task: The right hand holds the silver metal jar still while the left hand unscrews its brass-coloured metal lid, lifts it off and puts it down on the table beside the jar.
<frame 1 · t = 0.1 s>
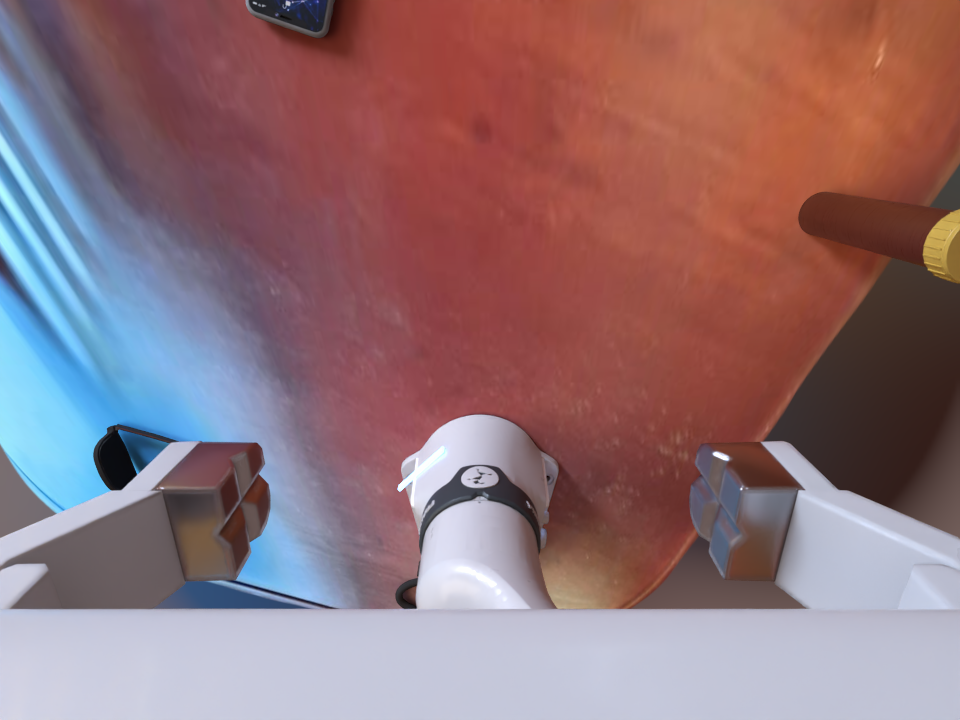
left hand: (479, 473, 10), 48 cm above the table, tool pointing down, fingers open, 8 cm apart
jar: (819, 213, 55), on the table
sunglasses: (193, 468, 66), on the table
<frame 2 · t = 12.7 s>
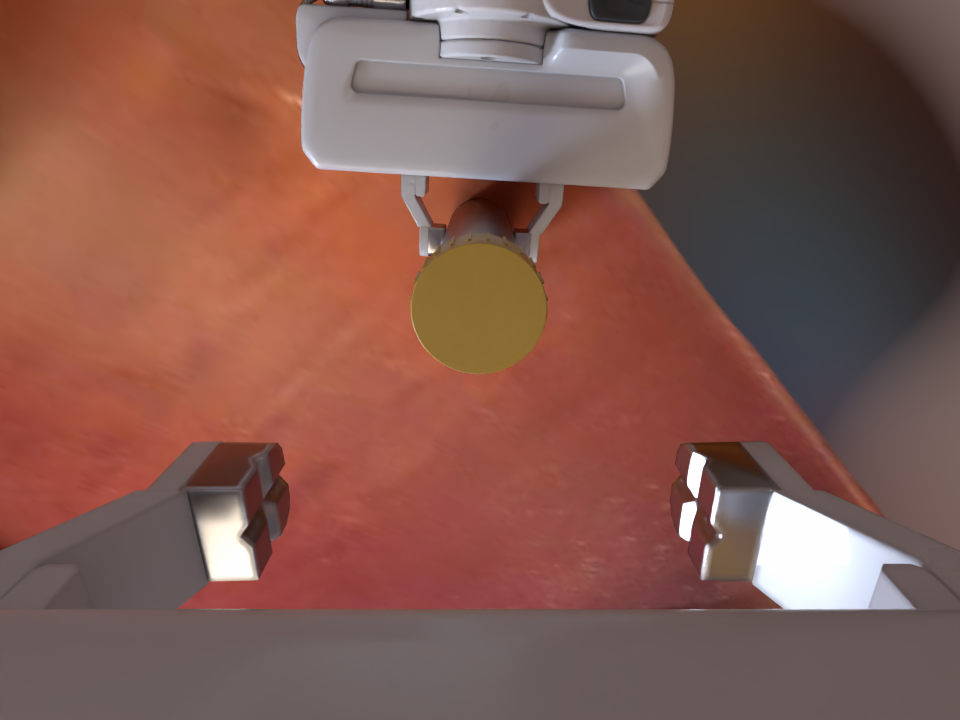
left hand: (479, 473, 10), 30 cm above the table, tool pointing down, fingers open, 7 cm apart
right hand: (478, 257, 34), fingers closed on jar, 4 cm apart
lid: (479, 308, 20), point 19 cm above the table, screwed on, not yet turned
jar: (479, 230, 38), on the table, touching right hand
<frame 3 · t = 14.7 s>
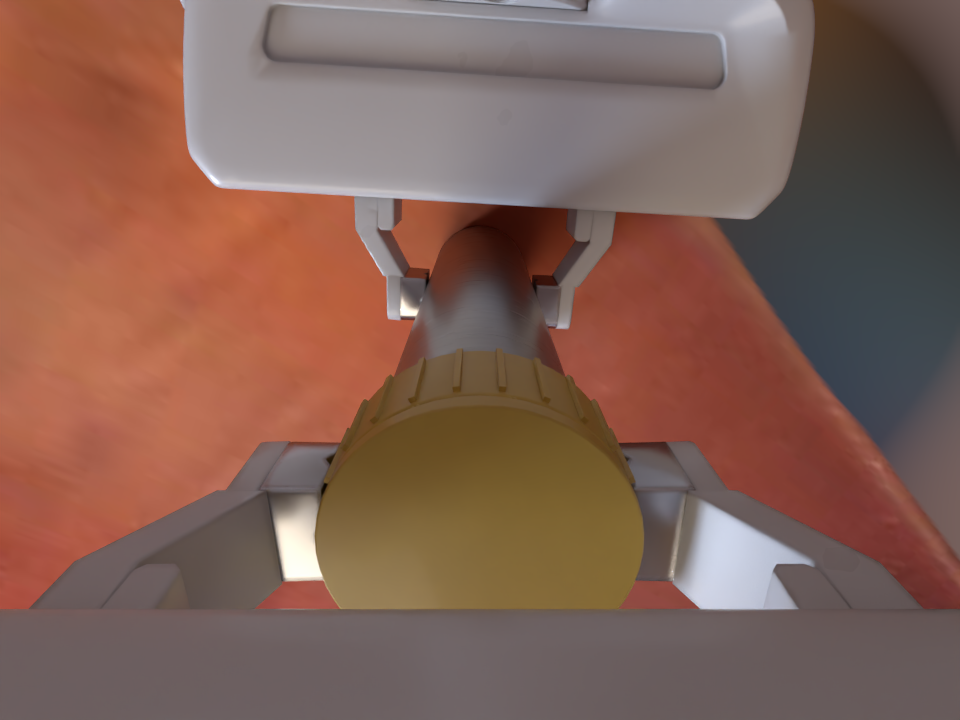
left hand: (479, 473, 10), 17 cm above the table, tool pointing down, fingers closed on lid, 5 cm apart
right hand: (479, 320, 22), fingers closed on jar, 4 cm apart
lid: (479, 537, 9), point 19 cm above the table, screwed on, not yet turned, touching left hand
jar: (479, 270, 26), on the table, touching right hand
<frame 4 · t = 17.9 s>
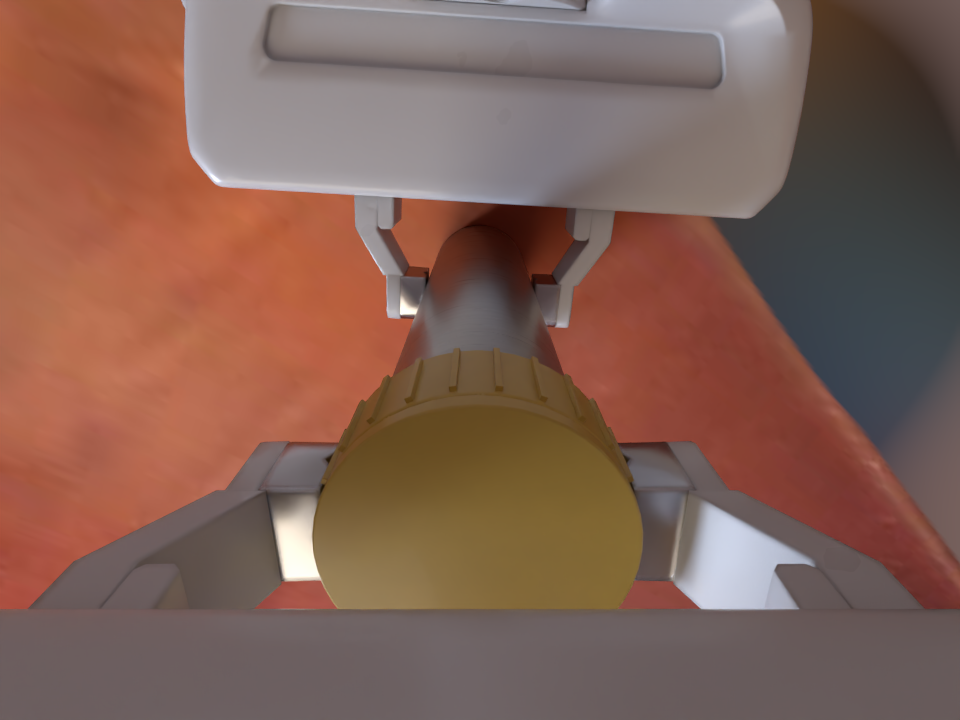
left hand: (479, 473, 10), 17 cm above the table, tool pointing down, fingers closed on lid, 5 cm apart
right hand: (479, 319, 22), fingers closed on jar, 4 cm apart
lid: (477, 538, 9), point 19 cm above the table, turned 76° so far, risen 0.1 cm, still on its thread, touching left hand
jar: (479, 269, 26), on the table, touching right hand
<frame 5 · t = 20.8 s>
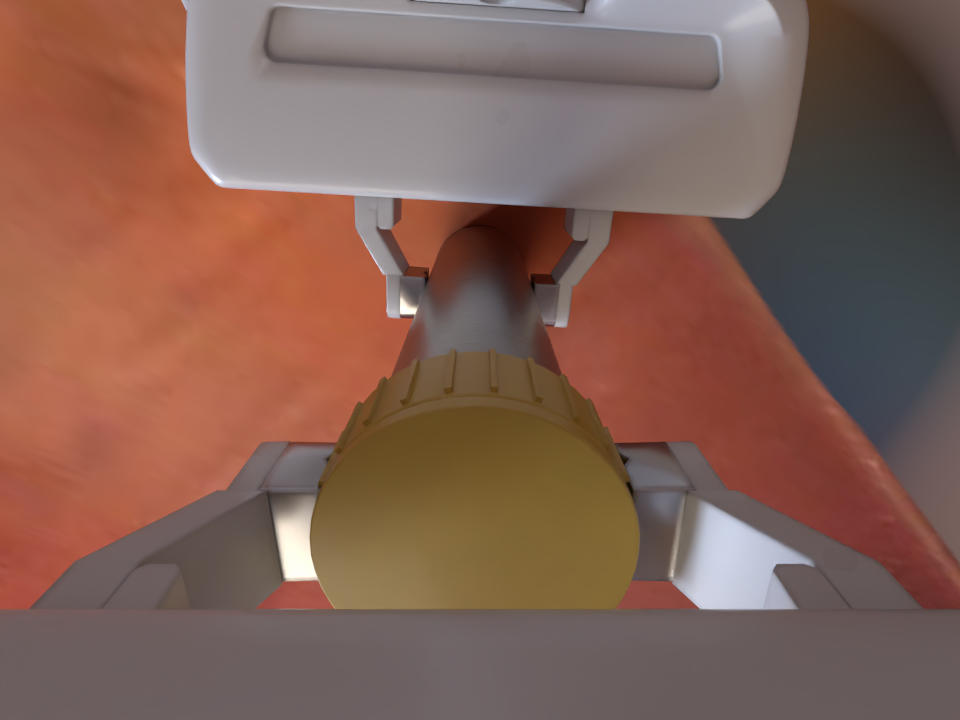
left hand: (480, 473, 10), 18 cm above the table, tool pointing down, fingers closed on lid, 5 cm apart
right hand: (478, 318, 22), fingers closed on jar, 4 cm apart
lid: (474, 538, 9), point 19 cm above the table, turned 151° so far, risen 0.2 cm, still on its thread, touching left hand
jar: (479, 269, 27), on the table, touching right hand
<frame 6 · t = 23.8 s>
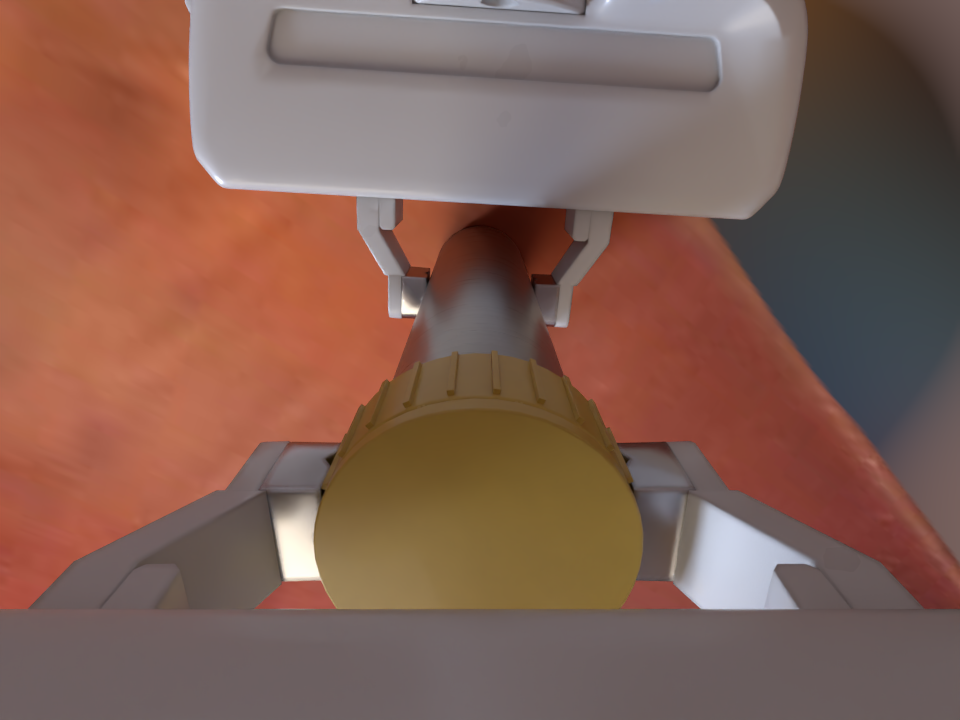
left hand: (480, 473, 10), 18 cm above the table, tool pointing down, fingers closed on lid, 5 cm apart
right hand: (479, 319, 22), fingers closed on jar, 4 cm apart
lid: (478, 540, 9), point 19 cm above the table, turned 227° so far, risen 0.4 cm, still on its thread, touching left hand
jar: (479, 269, 27), on the table, touching right hand
when the left hand's fingers open (2 cm above the table, at t = 36.0 s): lid drops 2 cm, point 2 cm above the table.
when the right hand's fingers open (5 cm above the table, at t = 37.0 s): jar stays where it is, on the table.
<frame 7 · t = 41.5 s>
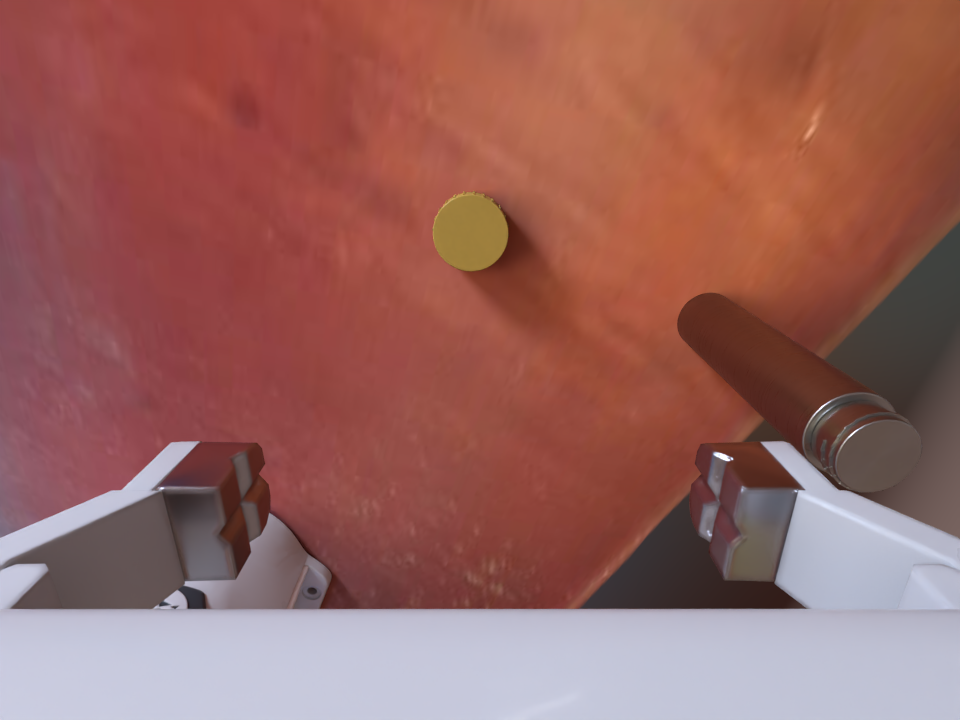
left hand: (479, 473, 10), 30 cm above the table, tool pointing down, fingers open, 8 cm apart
lid: (470, 233, 37), point 2 cm above the table, off its thread
jar: (705, 320, 41), on the table
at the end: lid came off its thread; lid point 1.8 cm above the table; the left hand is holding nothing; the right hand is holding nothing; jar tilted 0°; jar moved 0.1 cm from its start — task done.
